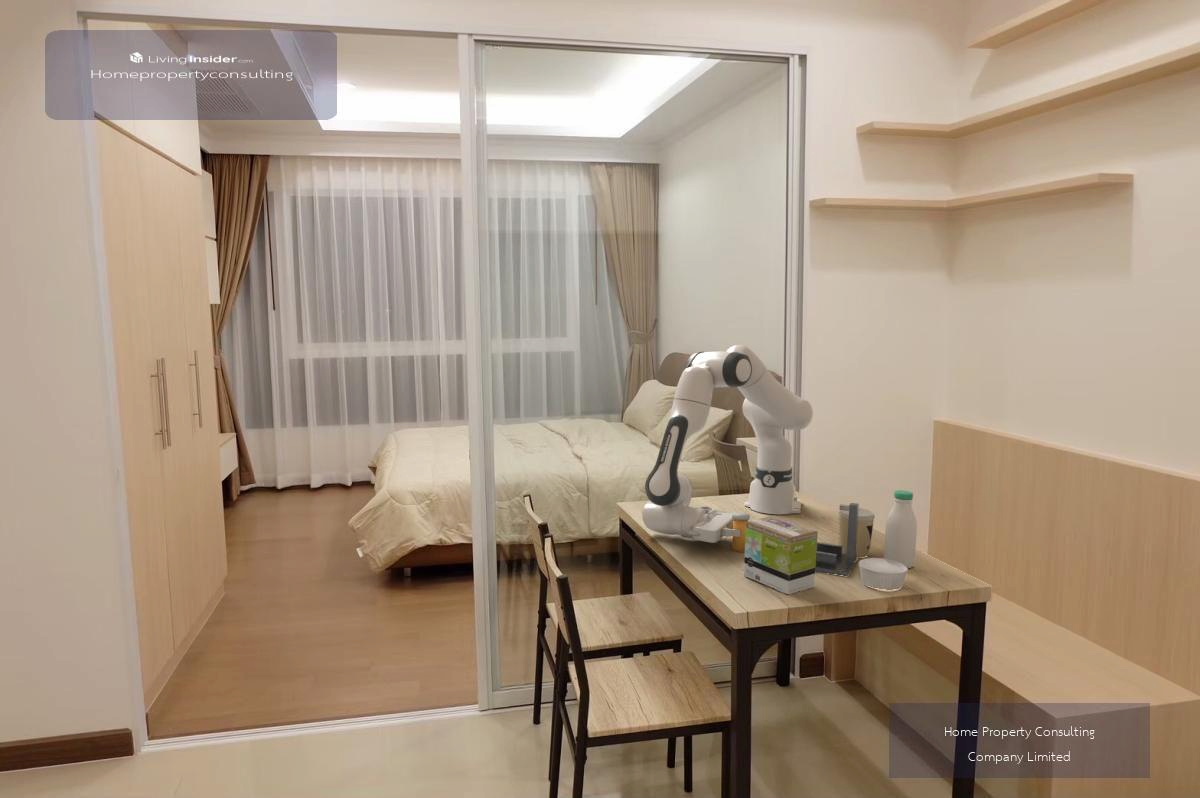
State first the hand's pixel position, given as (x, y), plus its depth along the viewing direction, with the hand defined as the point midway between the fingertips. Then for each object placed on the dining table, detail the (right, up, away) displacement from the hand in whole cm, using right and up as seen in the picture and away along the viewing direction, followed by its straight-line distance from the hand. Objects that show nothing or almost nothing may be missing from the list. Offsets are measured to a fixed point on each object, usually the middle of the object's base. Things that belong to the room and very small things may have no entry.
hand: (743, 530), depth 215 cm
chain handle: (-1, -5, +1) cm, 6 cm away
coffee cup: (+31, -6, 0) cm, 32 cm away
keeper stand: (+21, -7, -10) cm, 25 cm away
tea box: (+4, -9, -24) cm, 26 cm away
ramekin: (+30, -10, -24) cm, 40 cm away
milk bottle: (+40, -8, -9) cm, 42 cm away
